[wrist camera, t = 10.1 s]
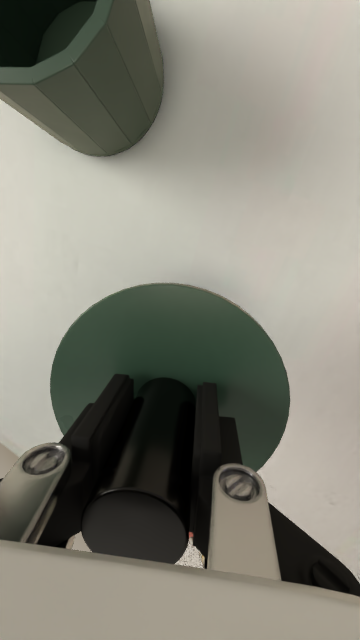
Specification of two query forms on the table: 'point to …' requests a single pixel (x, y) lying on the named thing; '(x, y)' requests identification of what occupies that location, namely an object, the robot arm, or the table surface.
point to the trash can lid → (165, 405)
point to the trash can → (82, 69)
